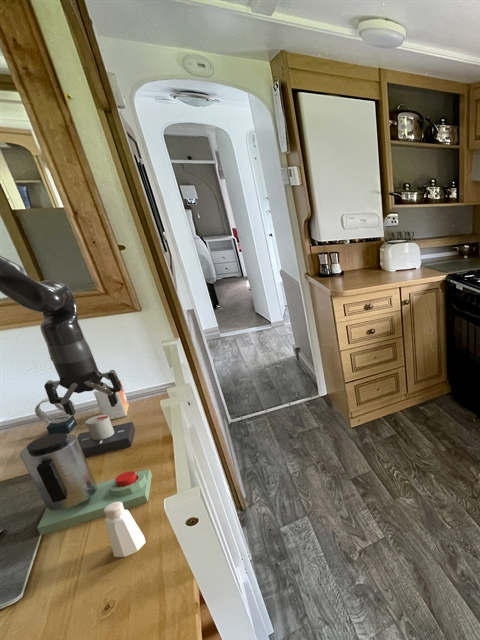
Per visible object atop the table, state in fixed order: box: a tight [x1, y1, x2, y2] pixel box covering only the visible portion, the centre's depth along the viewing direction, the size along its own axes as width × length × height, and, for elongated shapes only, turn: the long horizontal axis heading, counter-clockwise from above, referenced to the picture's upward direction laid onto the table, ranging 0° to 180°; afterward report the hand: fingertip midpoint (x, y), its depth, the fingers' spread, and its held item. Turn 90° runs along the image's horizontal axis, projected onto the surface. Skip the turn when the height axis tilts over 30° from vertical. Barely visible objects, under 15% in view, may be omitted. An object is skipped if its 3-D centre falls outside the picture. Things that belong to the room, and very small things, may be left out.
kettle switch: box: [114, 470, 137, 487], centre depth 90 cm, size 4×4×2 cm
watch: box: [34, 397, 78, 435], centre depth 114 cm, size 6×8×11 cm
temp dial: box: [85, 414, 114, 440], centre depth 108 cm, size 5×5×6 cm
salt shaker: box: [104, 502, 147, 558], centre depth 76 cm, size 5×5×11 cm
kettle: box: [19, 433, 98, 510], centre depth 82 cm, size 8×10×15 cm
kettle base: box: [36, 468, 153, 536], centre depth 88 cm, size 18×11×4 cm, turn 124°
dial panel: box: [76, 421, 136, 459], centre depth 109 cm, size 12×10×3 cm
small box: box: [93, 378, 130, 421], centre depth 123 cm, size 8×6×10 cm
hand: (93, 409), depth 106 cm, fingers open, 8 cm apart
